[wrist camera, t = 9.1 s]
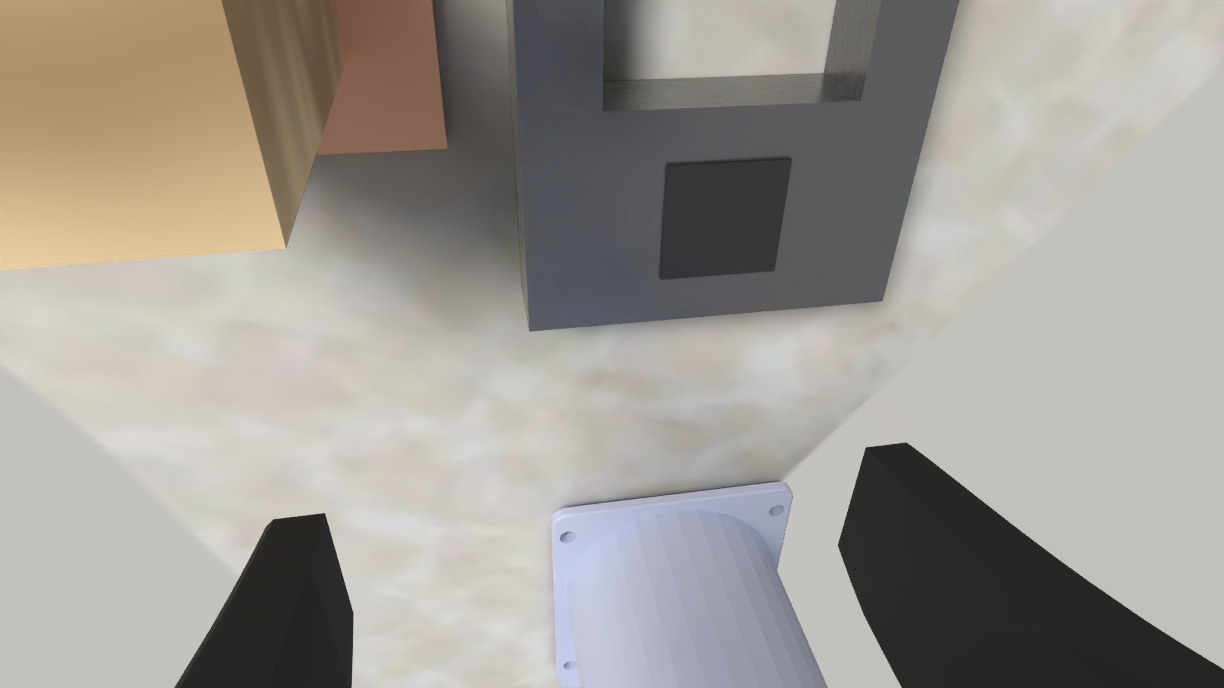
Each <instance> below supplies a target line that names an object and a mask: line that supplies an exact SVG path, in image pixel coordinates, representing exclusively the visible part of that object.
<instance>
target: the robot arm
mask: <svg viewBox="0 0 1224 688" xmlns="http://www.w3.org/2000/svg"><path fill="white" fill-rule="evenodd" d="M792 497H793V496H792V492H791V490H790V488H789V486H788V485H787V484H786V483H784V482H771V483H763V484H755V485H746V486H738V487H730V488H722V489H714V490H705V491H697V492H689V493H681V494H673V495H665V496H656V497H648V498H640V499H632V500H624V501H615V502H607V503H599V504H591V505H583V506H574V507H566V508H562V509H560V510H558V511H556V512H555V513H554V514H553V515H552V517H551V542H552V569H553V596H554V624H555V651H556V675H557V682H558V684H559V685H560V686H561V687H565V688H572V687H578V686H581V688H828V687H827V685H826V683H825V681H824V678H823V676H822V674H821V671H820V669H819V667H818V664H817V662H816V660H815V657H814V655H813V653H812V651H811V648H810V646H809V644H808V641H807V639H806V637H805V634H804V632H803V630H802V628H801V625H800V623H799V621H798V618H797V616H796V614H795V612H794V609H793V607H792V605H791V602H790V600H789V598H788V595H787V594H786V591H785V588H784V586H783V584H782V582H781V579H780V577H779V575H778V572H777V568H778V563H779V558H780V554H781V549H782V544H783V540H784V535H785V530H786V526H787V521H788V516H789V511H790V507H791V502H792ZM774 506H775V507H774ZM566 532H570V533H567V534H563V533H566ZM838 547H839V550H840V552H841V555H842V558H843V561H844V564H845V566H846V569H847V572H848V575H849V577H850V580H851V583H852V586H853V588H854V591H855V593H856V596H857V599H858V601H859V604H860V606H861V609H862V611H863V614H864V616H865V618H866V620H867V621H868V624H869V626H870V627H871V630H872V632H873V633H874V635H875V637H876V639H877V641H878V643H879V645H880V647H881V649H882V651H883V653H884V654H885V657H886V658H887V660H888V662H889V664H890V666H891V668H892V670H893V672H894V674H895V676H896V678H897V679H898V681H899V683H900V685H901V687H902V688H1224V669H1222V668H1220V667H1219V666H1217V665H1216V664H1214V663H1212V662H1210V661H1209V660H1207V659H1206V658H1204V657H1202V656H1201V655H1199V654H1197V653H1196V652H1194V651H1193V650H1191V649H1189V648H1188V647H1186V646H1185V645H1183V644H1181V643H1180V642H1178V641H1176V640H1175V639H1173V638H1172V637H1170V636H1169V635H1167V634H1165V633H1164V632H1162V631H1161V630H1159V629H1157V628H1156V627H1155V626H1153V625H1152V624H1150V623H1148V622H1147V621H1145V620H1144V619H1142V618H1141V617H1139V616H1138V615H1137V614H1135V613H1133V612H1132V611H1131V610H1129V609H1128V608H1126V607H1125V606H1123V605H1122V604H1121V603H1119V602H1118V601H1116V600H1115V599H1113V598H1112V597H1110V596H1109V595H1107V594H1106V593H1105V592H1103V591H1102V590H1100V589H1099V588H1097V587H1096V586H1094V585H1093V584H1091V583H1090V582H1089V581H1087V580H1086V579H1084V578H1083V577H1082V576H1080V575H1079V574H1078V573H1076V572H1075V571H1074V570H1072V569H1071V568H1069V567H1068V566H1067V565H1065V564H1064V563H1062V562H1061V561H1060V560H1058V559H1057V558H1056V557H1054V556H1053V555H1052V554H1050V553H1049V552H1048V551H1046V550H1045V549H1044V548H1042V547H1041V546H1040V545H1038V544H1037V543H1036V542H1034V541H1033V540H1032V539H1030V538H1029V537H1028V536H1026V535H1025V534H1024V533H1022V532H1021V531H1020V530H1019V529H1017V528H1016V527H1015V526H1013V525H1012V524H1011V523H1010V522H1008V521H1007V520H1005V519H1004V518H1003V517H1002V516H1000V515H999V514H998V513H997V512H995V511H994V510H993V509H992V508H990V507H989V506H988V505H986V504H985V503H984V502H982V501H981V500H980V499H979V498H977V497H976V496H975V495H974V494H972V493H971V492H970V491H969V490H967V489H966V488H965V487H964V486H962V485H961V484H960V483H958V482H957V481H956V480H955V479H953V478H952V477H951V476H949V475H948V474H947V473H946V472H945V471H943V470H942V469H941V468H939V467H938V466H937V465H936V464H934V463H933V462H932V461H930V460H929V459H928V458H926V457H925V456H924V455H923V454H921V453H920V452H919V451H917V450H916V449H915V448H913V447H912V446H911V445H909V444H908V443H899V444H891V445H884V446H875V447H867V448H866V449H865V453H864V456H863V459H862V463H861V466H860V470H859V473H858V477H857V480H856V484H855V488H854V491H853V495H852V498H851V501H850V505H849V508H848V512H847V515H846V519H845V522H844V526H843V529H842V533H841V537H840V540H839V544H838ZM352 658H353V611H352V607H351V604H350V600H349V596H348V593H347V589H346V586H345V582H344V579H343V575H342V572H341V568H340V565H339V561H338V558H337V554H336V551H335V547H334V544H333V540H332V536H331V533H330V529H329V526H328V522H327V519H326V515H325V513H322V514H314V515H306V516H298V517H289V518H281V519H273V520H272V521H271V522H270V523H269V524H268V525H267V526H266V528H265V530H264V532H263V534H262V536H261V538H260V540H259V542H258V544H257V546H256V548H255V549H254V551H253V553H252V555H251V557H250V559H249V561H248V563H247V565H246V566H245V568H244V570H243V572H242V574H241V576H240V578H239V579H238V581H237V583H236V585H235V587H234V588H233V590H232V592H231V594H230V596H229V597H228V599H227V601H226V603H225V604H224V606H223V608H222V610H221V611H220V613H219V615H218V617H217V619H216V620H215V622H214V624H213V625H212V627H211V629H210V631H209V632H208V634H207V635H206V637H205V639H204V640H203V642H202V643H201V645H200V647H199V648H198V650H197V652H196V653H195V655H194V657H193V658H192V660H191V661H190V663H189V665H188V666H187V668H186V670H185V671H184V673H183V675H182V676H181V678H180V680H179V681H178V683H177V684H176V686H175V688H351V686H352Z"/></svg>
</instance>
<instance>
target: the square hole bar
mask: <svg viewBox="0 0 1224 688" xmlns="http://www.w3.org/2000/svg"><path fill="white" fill-rule="evenodd" d="M958 3H959V0H837V1H836V7H835V13H834V18H833V24H832V30H831V36H830V42H829V48H828V53H827V59H826V65H825V71H824V73H820V74H792V75H765V76H737V77H709V78H681V79H654V80H626V81H603V60H604V0H506V4H507V23H508V41H509V60H510V78H511V97H512V115H513V134H514V152H515V171H516V189H517V208H518V226H519V245H520V263H521V282H522V292H523V298H524V303H525V309H526V315H527V321H528V327H529V331H540V330H552V329H563V328H575V327H587V326H598V325H610V324H622V323H633V322H645V321H657V320H668V319H680V318H692V317H703V316H715V315H727V314H738V313H750V312H762V311H773V310H785V309H797V308H808V307H820V306H832V305H843V304H855V303H867V302H878V301H882V300H883V296H884V293H885V289H886V285H887V281H888V277H889V273H890V269H891V265H892V261H893V257H894V253H895V249H896V246H897V242H898V238H899V234H900V230H901V226H902V222H903V218H904V214H905V210H906V206H907V203H908V199H909V195H910V191H911V187H912V183H913V179H914V175H915V171H916V167H917V163H918V159H919V156H920V152H921V148H922V144H923V140H924V136H925V132H926V128H927V124H928V120H929V116H930V113H931V109H932V105H933V101H934V97H935V93H936V89H937V85H938V81H939V77H940V73H941V69H942V66H943V62H944V58H945V54H946V50H947V46H948V42H949V38H950V34H951V30H952V26H953V23H954V19H955V15H956V11H957V7H958Z"/></svg>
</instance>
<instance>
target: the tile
mask: <svg viewBox="0 0 1224 688" xmlns="http://www.w3.org/2000/svg"><path fill="white" fill-rule="evenodd" d="M335 5H336V11H337V16H338V22H339V27H340V33H341V38H342V44H343V49H344V55H345V60H346V63H345V66H344V69H343V72H342V75H341V78H340V81H339V84H338V88H337V91H336V94H335V97H334V100H333V103H332V106H331V109H330V113H329V116H328V119H327V122H326V125H325V128H324V131H323V134H322V138H321V141H320V144H319V147H318V150H317V153H316V155H333V154H353V153H374V152H395V151H416V150H436V149H447V137H446V128H445V118H444V109H443V99H442V90H441V80H440V71H439V61H438V52H437V42H436V32H435V23H434V13H433V4H432V0H335Z"/></svg>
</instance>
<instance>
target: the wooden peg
mask: <svg viewBox="0 0 1224 688" xmlns="http://www.w3.org/2000/svg"><path fill="white" fill-rule="evenodd" d="M345 63H346V60H345V55H344V49H343V44H342V38H341V33H340V27H339V22H338V16H337V11H336V5H335V0H0V270H11V269H24V268H37V267H51V266H64V265H77V264H90V263H103V262H116V261H130V260H143V259H156V258H169V257H182V256H195V255H208V254H222V253H235V252H248V251H261V250H274V249H286V247H287V244H288V241H289V238H290V234H291V231H292V228H293V225H294V222H295V219H296V216H297V213H298V209H299V206H300V203H301V200H302V197H303V194H304V191H305V188H306V184H307V181H308V178H309V175H310V172H311V169H312V166H313V163H314V159H315V156H316V153H317V150H318V147H319V144H320V141H321V138H322V134H323V131H324V128H325V125H326V122H327V119H328V116H329V113H330V109H331V106H332V103H333V100H334V97H335V94H336V91H337V88H338V84H339V81H340V78H341V75H342V72H343V69H344V66H345Z"/></svg>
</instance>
